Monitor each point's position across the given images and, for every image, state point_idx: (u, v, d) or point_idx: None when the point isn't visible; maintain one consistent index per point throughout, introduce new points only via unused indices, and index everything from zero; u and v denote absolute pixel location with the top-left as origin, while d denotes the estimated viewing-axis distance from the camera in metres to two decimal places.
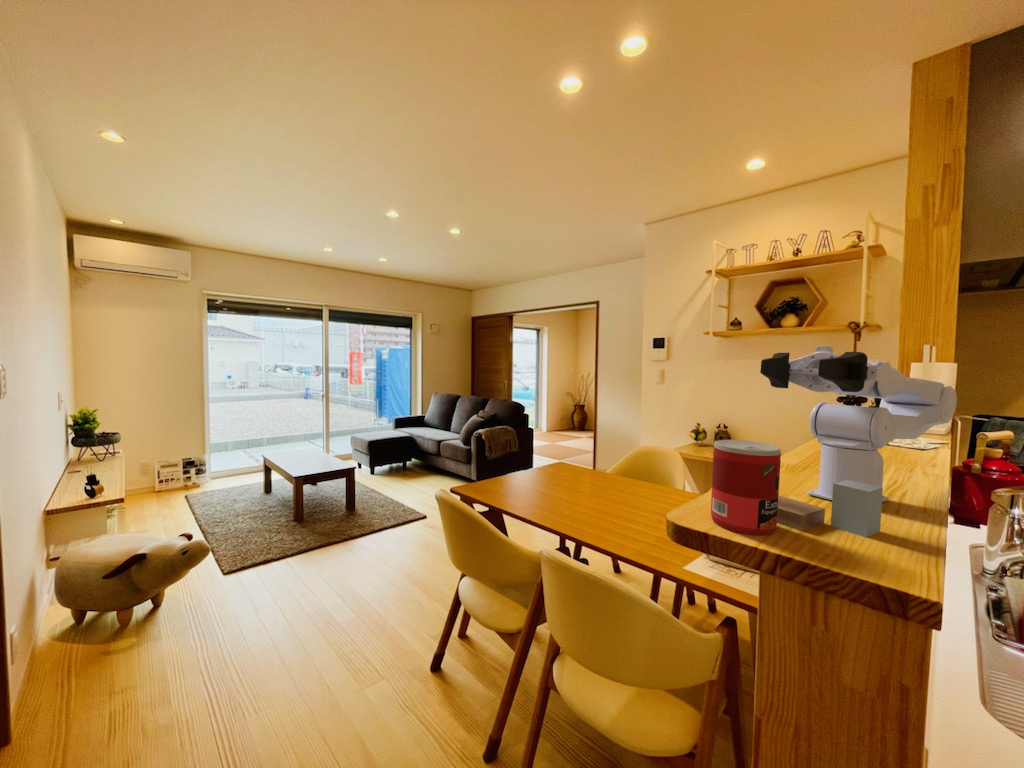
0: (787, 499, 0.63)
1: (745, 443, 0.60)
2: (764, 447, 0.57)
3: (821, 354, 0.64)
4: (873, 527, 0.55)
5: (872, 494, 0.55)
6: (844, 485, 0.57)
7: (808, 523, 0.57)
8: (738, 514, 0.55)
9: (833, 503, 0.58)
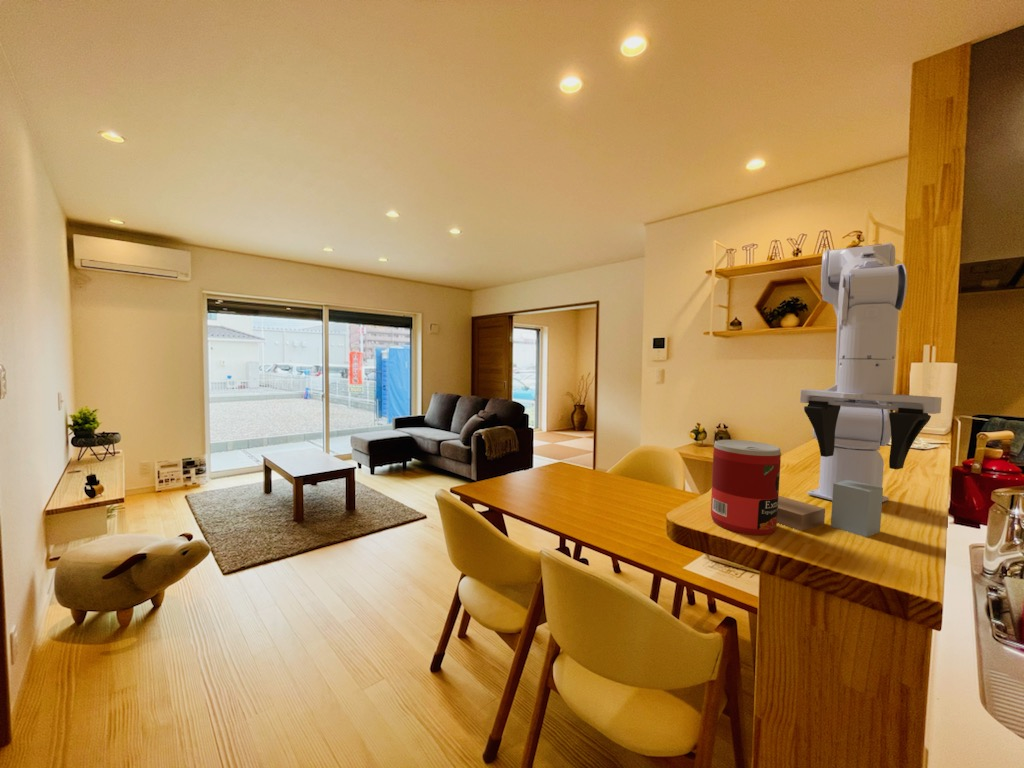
0: (787, 499, 0.63)
1: (745, 443, 0.60)
2: (764, 447, 0.57)
3: (853, 399, 0.55)
4: (873, 527, 0.55)
5: (872, 494, 0.55)
6: (844, 485, 0.57)
7: (808, 523, 0.57)
8: (738, 514, 0.55)
9: (833, 503, 0.58)
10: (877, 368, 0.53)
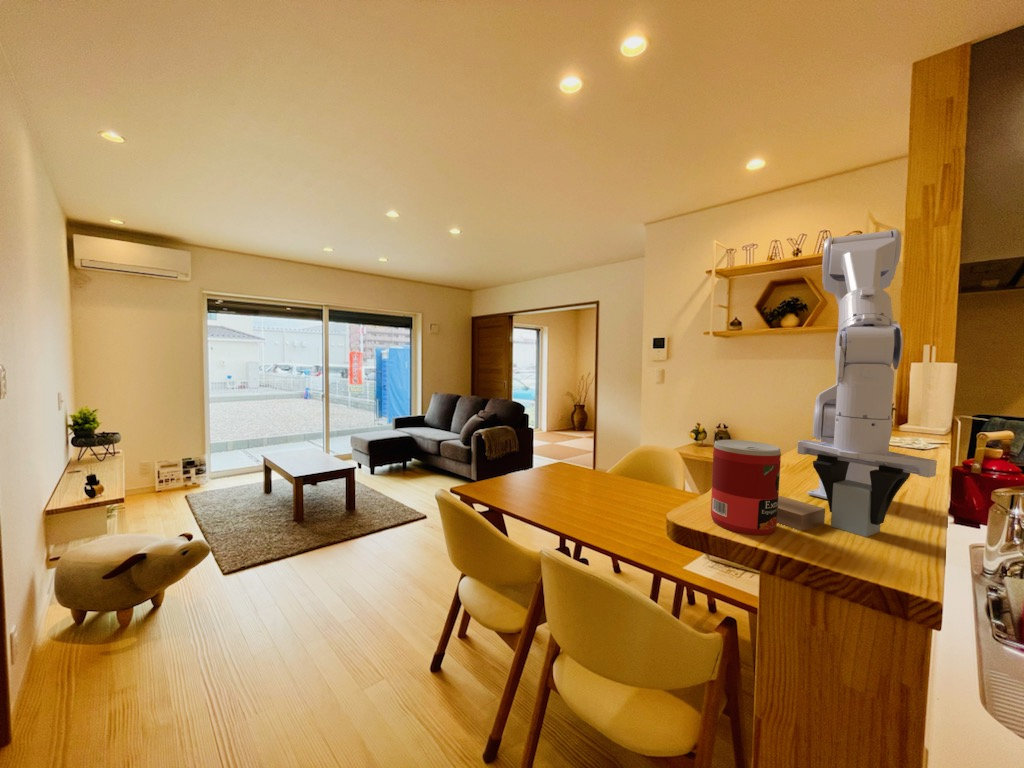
0: (787, 499, 0.63)
1: (745, 443, 0.60)
2: (764, 447, 0.57)
3: None
4: (873, 527, 0.55)
5: None
6: (844, 485, 0.57)
7: (808, 523, 0.57)
8: (738, 514, 0.55)
9: (833, 503, 0.58)
10: (873, 428, 0.54)
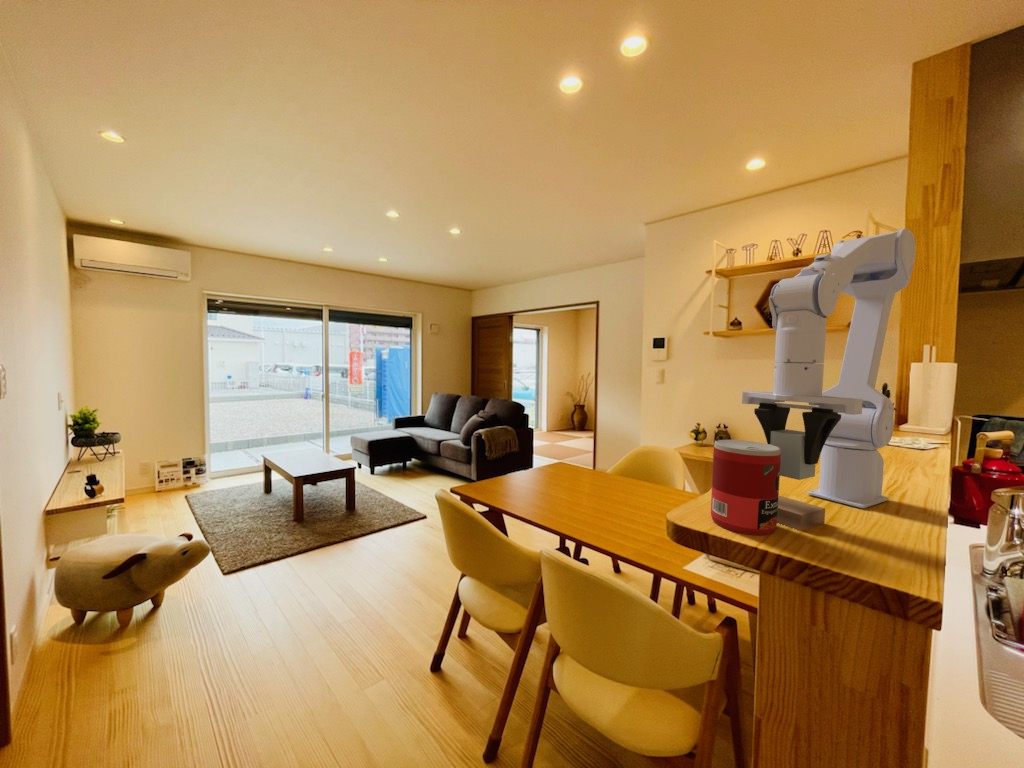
0: (787, 499, 0.63)
1: (745, 443, 0.60)
2: (764, 447, 0.57)
3: (785, 400, 0.58)
4: (807, 471, 0.58)
5: None
6: (780, 432, 0.59)
7: (808, 523, 0.57)
8: (738, 514, 0.55)
9: None
10: (806, 371, 0.56)
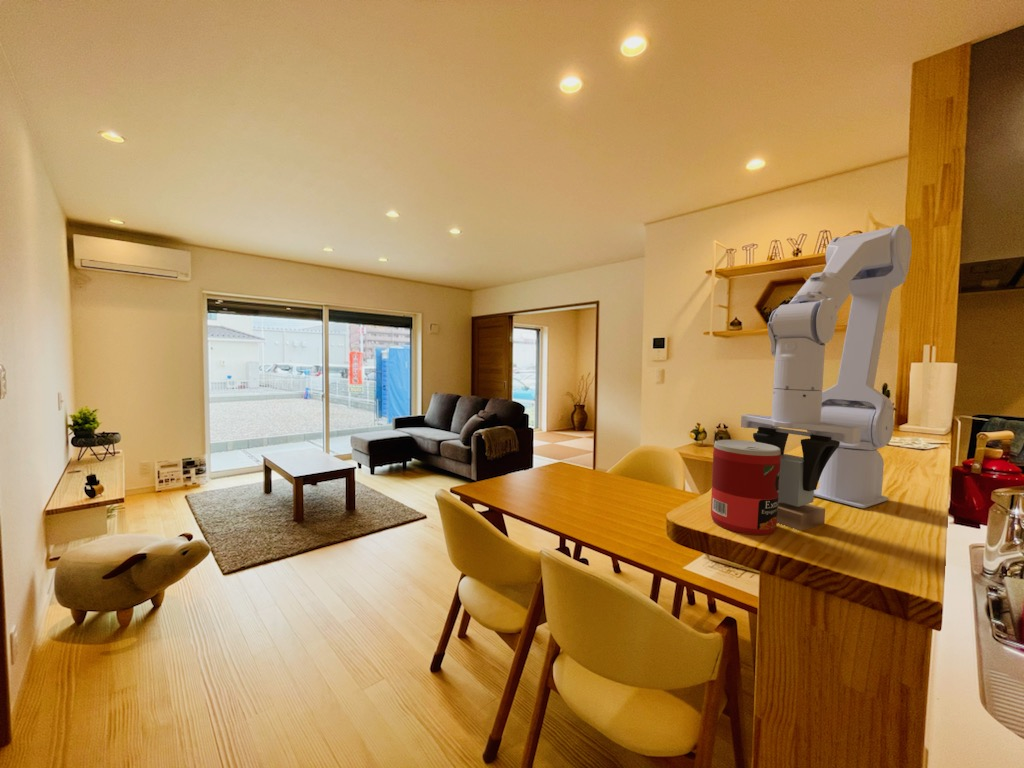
0: None
1: (745, 443, 0.60)
2: (764, 447, 0.57)
3: (784, 427, 0.58)
4: (805, 497, 0.58)
5: (803, 465, 0.57)
6: None
7: (808, 523, 0.57)
8: (738, 514, 0.55)
9: None
10: (804, 399, 0.56)
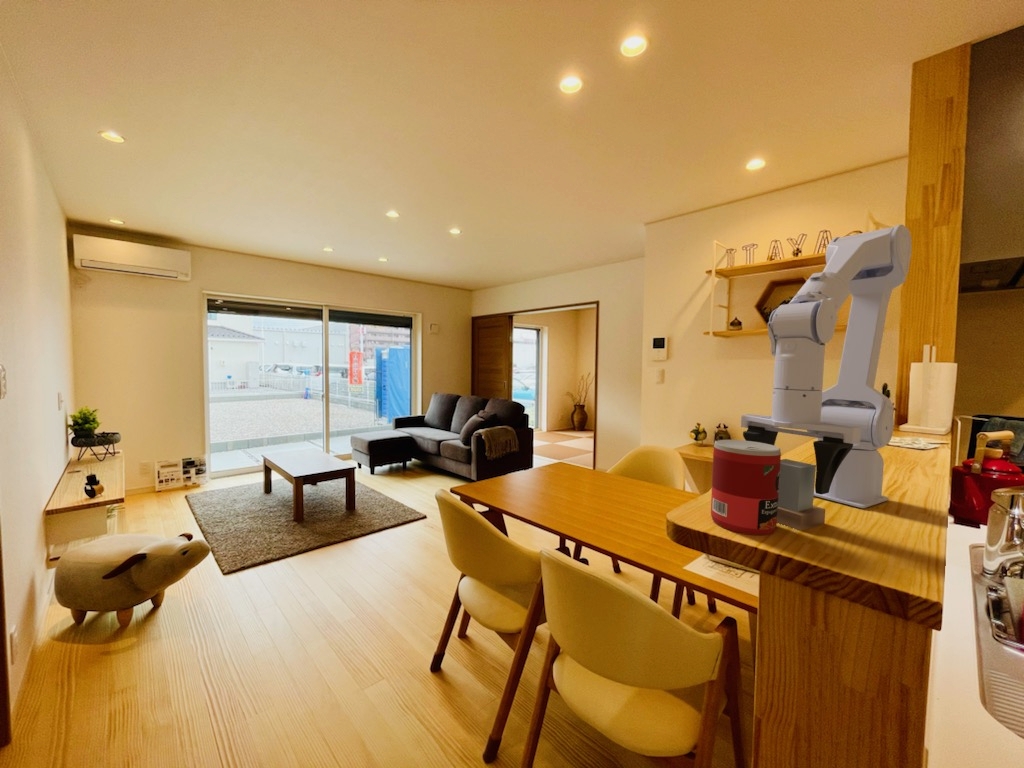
0: None
1: (745, 443, 0.60)
2: (764, 447, 0.57)
3: (784, 427, 0.58)
4: (805, 502, 0.58)
5: (804, 470, 0.57)
6: (780, 463, 0.60)
7: (808, 524, 0.57)
8: (738, 514, 0.55)
9: None
10: (804, 398, 0.56)
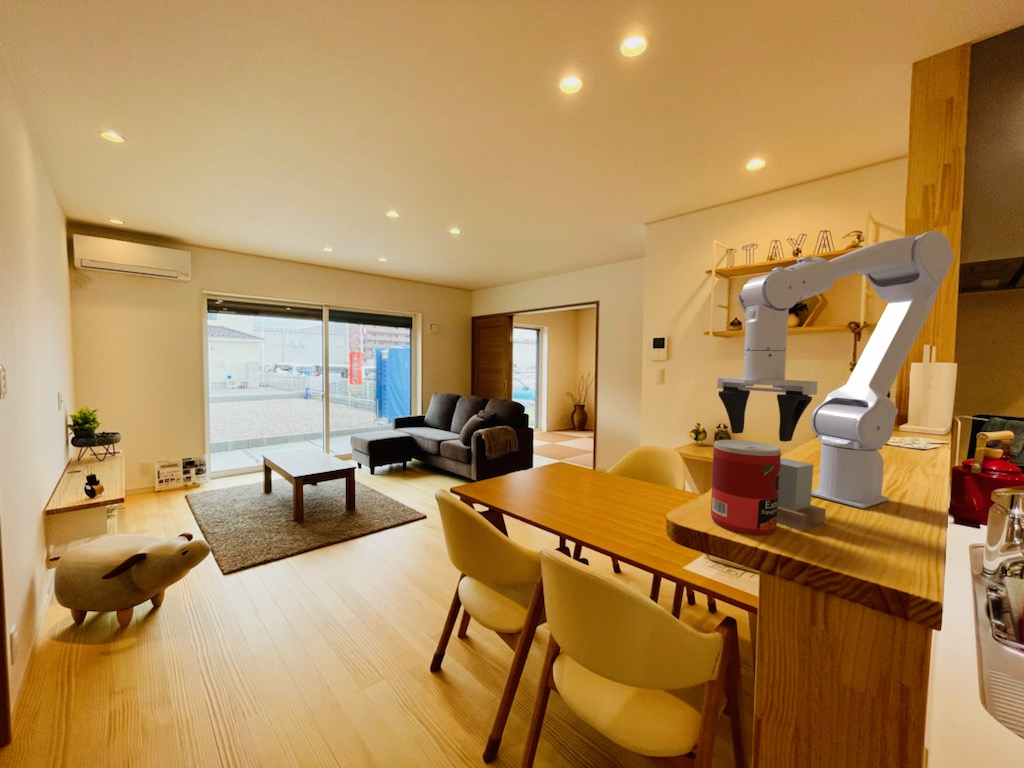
0: None
1: (745, 443, 0.60)
2: (764, 447, 0.57)
3: None
4: (802, 502, 0.58)
5: (801, 470, 0.58)
6: None
7: (808, 524, 0.57)
8: (738, 514, 0.55)
9: None
10: (770, 358, 0.64)
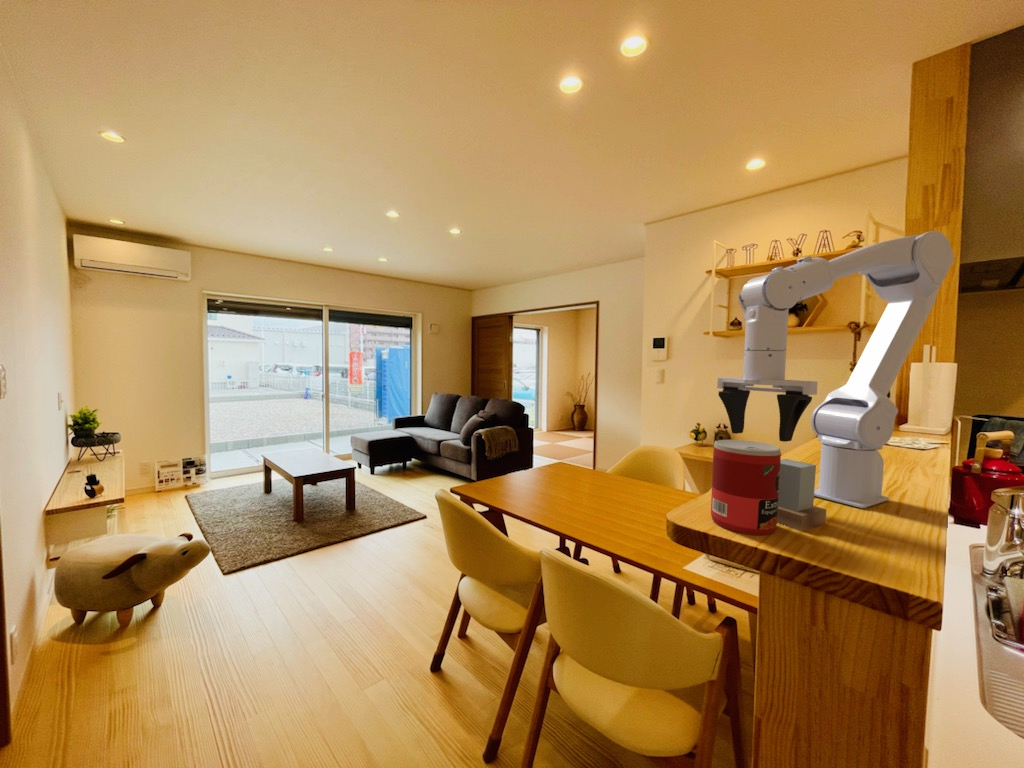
0: None
1: (745, 443, 0.60)
2: (764, 447, 0.57)
3: None
4: (805, 502, 0.58)
5: (804, 470, 0.58)
6: (780, 463, 0.60)
7: (809, 524, 0.57)
8: (738, 514, 0.55)
9: None
10: (770, 358, 0.64)
